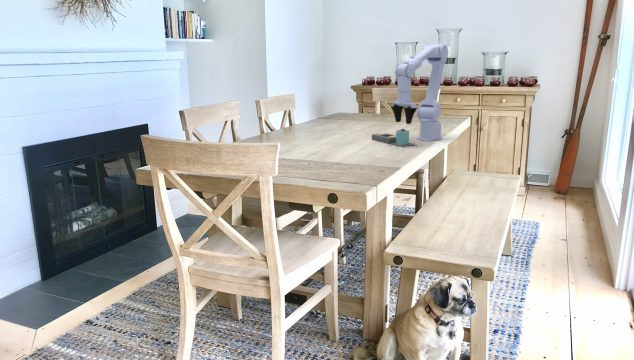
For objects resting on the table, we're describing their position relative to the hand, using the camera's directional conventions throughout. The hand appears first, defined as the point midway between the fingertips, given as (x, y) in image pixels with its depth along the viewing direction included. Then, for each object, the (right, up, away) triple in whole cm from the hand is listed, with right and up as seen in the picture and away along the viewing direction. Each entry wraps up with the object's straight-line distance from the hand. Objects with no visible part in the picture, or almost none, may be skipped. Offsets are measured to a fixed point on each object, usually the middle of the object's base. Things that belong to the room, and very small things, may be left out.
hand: (403, 122), depth 233 cm
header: (-6, -7, +13) cm, 15 cm away
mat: (0, -10, +2) cm, 10 cm away
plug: (0, -9, +2) cm, 9 cm away
